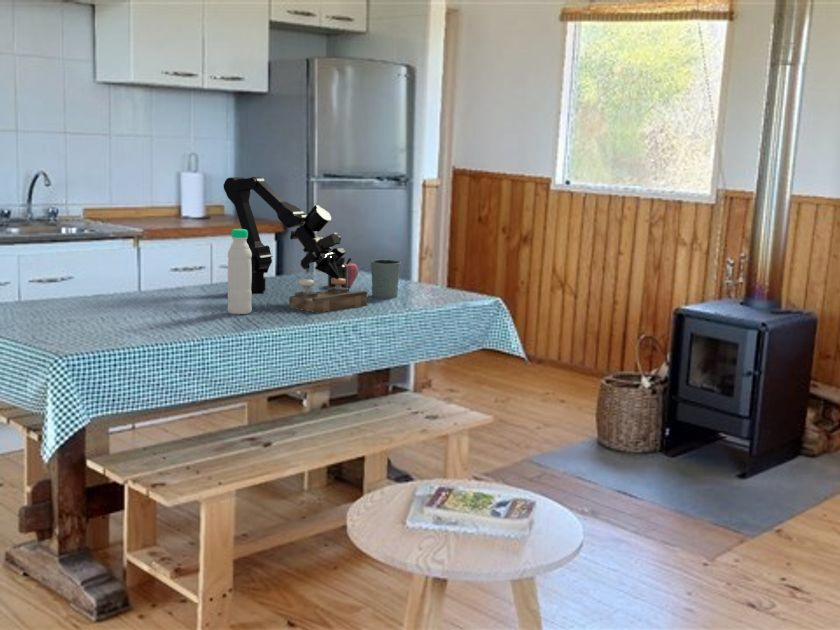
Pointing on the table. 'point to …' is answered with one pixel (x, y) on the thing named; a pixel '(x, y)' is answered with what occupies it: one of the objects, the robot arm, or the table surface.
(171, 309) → the table surface
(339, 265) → the supplement bottle
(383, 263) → the grey green plant pot
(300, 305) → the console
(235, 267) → the water bottle
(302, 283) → the button cream
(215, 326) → the table surface
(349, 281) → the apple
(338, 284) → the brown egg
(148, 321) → the table surface
